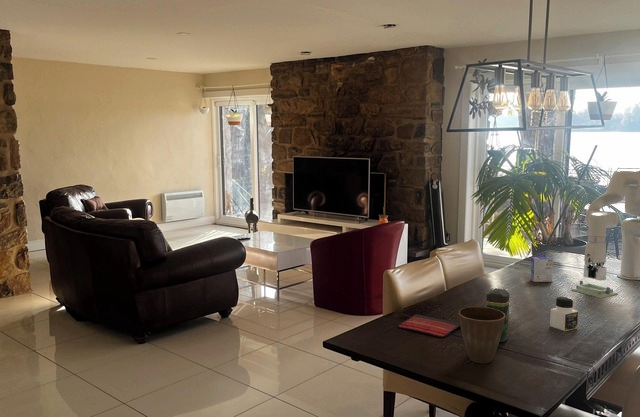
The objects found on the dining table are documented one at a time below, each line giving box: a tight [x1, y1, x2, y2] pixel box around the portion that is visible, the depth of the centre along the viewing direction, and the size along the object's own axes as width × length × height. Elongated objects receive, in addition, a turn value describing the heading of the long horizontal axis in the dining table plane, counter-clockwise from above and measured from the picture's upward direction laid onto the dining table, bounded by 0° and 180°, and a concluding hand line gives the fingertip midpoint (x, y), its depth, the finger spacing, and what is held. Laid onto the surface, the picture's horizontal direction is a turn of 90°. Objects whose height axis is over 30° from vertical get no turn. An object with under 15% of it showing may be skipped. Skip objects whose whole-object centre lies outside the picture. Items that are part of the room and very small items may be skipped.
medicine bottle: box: [549, 295, 579, 332], centre depth 218 cm, size 7×7×12 cm
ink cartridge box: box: [530, 252, 554, 283], centre depth 290 cm, size 10×6×14 cm, turn 89°
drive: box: [583, 263, 607, 282], centre depth 267 cm, size 4×9×6 cm, turn 27°
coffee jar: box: [485, 288, 511, 343], centre depth 206 cm, size 10×8×19 cm
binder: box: [397, 313, 461, 339], centre depth 220 cm, size 16×2×21 cm
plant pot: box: [458, 306, 505, 364], centre depth 187 cm, size 15×15×16 cm
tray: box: [570, 280, 619, 299], centre depth 268 cm, size 12×16×4 cm
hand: (594, 276), depth 267 cm, fingers closed on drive, 4 cm apart
